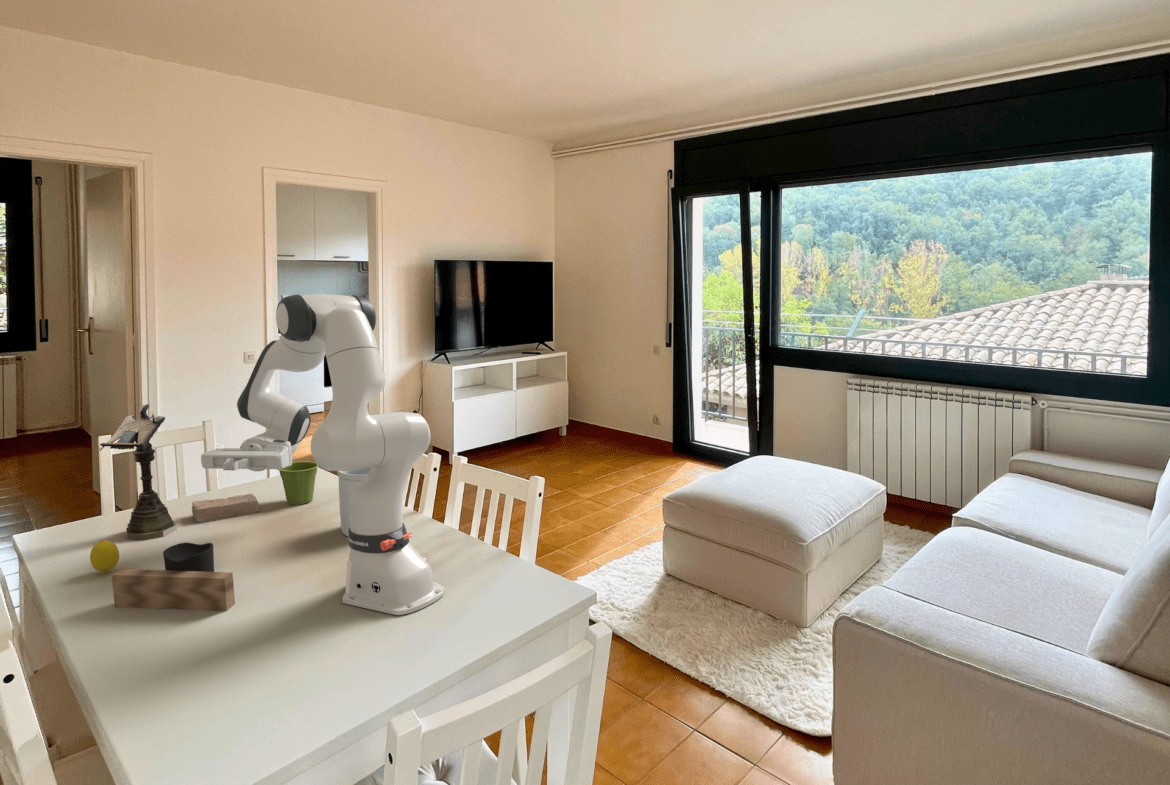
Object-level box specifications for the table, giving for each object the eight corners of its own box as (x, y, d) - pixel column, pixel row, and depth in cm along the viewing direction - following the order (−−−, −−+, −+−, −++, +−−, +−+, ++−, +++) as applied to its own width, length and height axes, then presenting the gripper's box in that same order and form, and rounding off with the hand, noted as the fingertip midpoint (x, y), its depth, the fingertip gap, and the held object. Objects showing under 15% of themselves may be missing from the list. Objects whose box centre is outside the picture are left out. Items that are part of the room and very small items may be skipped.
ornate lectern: (147, 548, 175) (133, 412, 169) (100, 545, 177) (85, 410, 171) (192, 525, 191) (181, 400, 186) (149, 523, 193) (136, 399, 187)
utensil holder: (386, 516, 200) (384, 457, 197) (404, 532, 188) (402, 469, 185) (334, 526, 192) (330, 464, 189) (348, 543, 180) (345, 477, 177)
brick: (253, 505, 209) (252, 490, 209) (260, 513, 203) (259, 497, 202) (191, 517, 199) (190, 501, 199) (197, 525, 193) (195, 509, 192)
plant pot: (324, 504, 211) (322, 468, 209) (281, 510, 205) (279, 473, 203) (317, 493, 221) (315, 459, 219) (277, 499, 215) (274, 463, 213)
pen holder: (206, 579, 158) (202, 537, 156) (223, 591, 152) (220, 548, 150) (160, 593, 151) (156, 549, 149) (177, 606, 145) (172, 561, 143)
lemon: (95, 569, 162) (92, 537, 161) (123, 566, 164) (120, 534, 163) (88, 579, 157) (84, 545, 156) (117, 575, 159) (113, 542, 158)
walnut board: (235, 603, 146) (232, 572, 145) (227, 610, 143) (224, 578, 142) (124, 600, 147) (121, 568, 146) (114, 606, 144) (111, 574, 143)
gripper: (218, 440, 178) (184, 453, 164) (296, 441, 177) (269, 454, 163) (220, 464, 179) (187, 479, 165) (298, 465, 178) (271, 480, 164)
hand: (228, 467), depth 164 cm, fingers closed
